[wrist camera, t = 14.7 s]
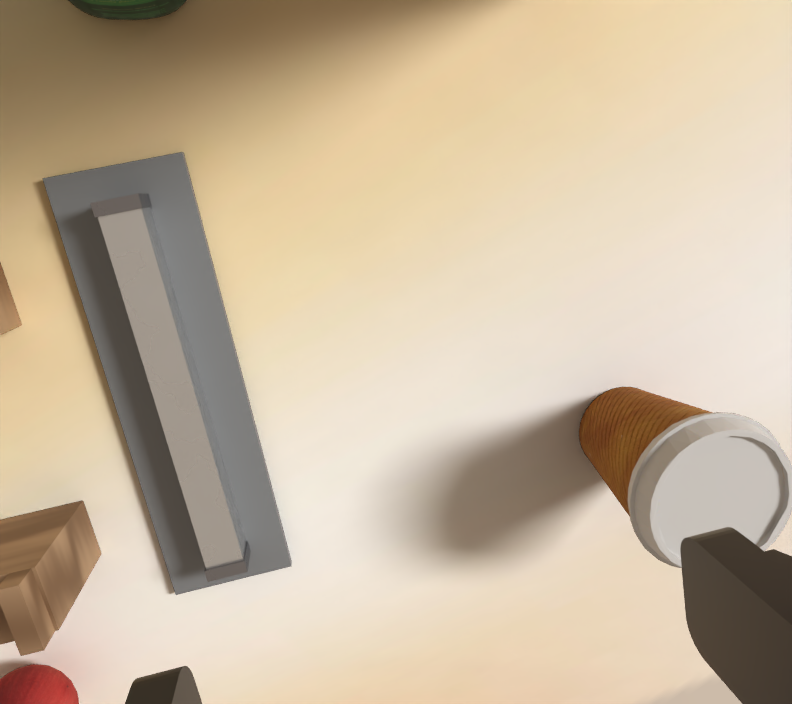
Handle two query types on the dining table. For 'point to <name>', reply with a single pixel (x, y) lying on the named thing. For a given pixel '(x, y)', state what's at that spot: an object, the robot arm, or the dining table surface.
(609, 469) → the disposable coffee cup
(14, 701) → the onion
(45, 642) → the post
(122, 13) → the coffee jar
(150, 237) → the rail
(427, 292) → the dining table surface
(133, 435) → the mat
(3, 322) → the post
